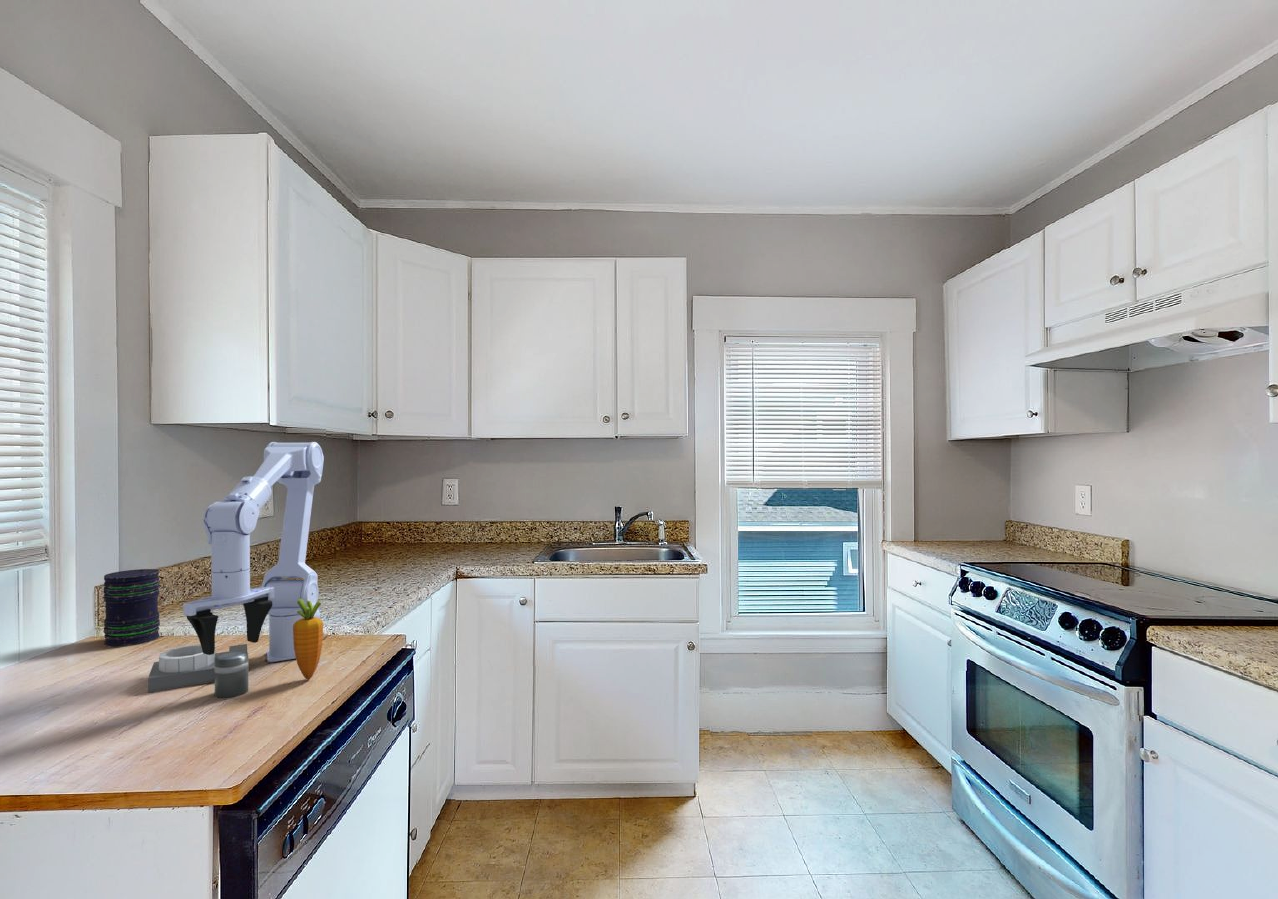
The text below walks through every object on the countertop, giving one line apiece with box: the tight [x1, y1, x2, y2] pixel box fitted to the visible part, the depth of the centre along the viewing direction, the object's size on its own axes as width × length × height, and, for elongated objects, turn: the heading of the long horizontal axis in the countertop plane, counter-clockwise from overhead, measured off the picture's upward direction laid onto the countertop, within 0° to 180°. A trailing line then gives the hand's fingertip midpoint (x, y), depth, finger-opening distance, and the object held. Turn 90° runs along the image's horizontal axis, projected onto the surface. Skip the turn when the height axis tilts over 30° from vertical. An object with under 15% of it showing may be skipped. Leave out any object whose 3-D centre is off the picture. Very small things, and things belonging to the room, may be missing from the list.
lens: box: [214, 651, 249, 700], centre depth 114 cm, size 5×5×7 cm
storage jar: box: [103, 568, 161, 648], centre depth 144 cm, size 10×10×15 cm
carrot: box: [293, 599, 324, 681], centre depth 120 cm, size 5×5×15 cm
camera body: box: [147, 643, 248, 693], centre depth 122 cm, size 15×10×5 cm, turn 122°
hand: (231, 647), depth 113 cm, fingers open, 7 cm apart
